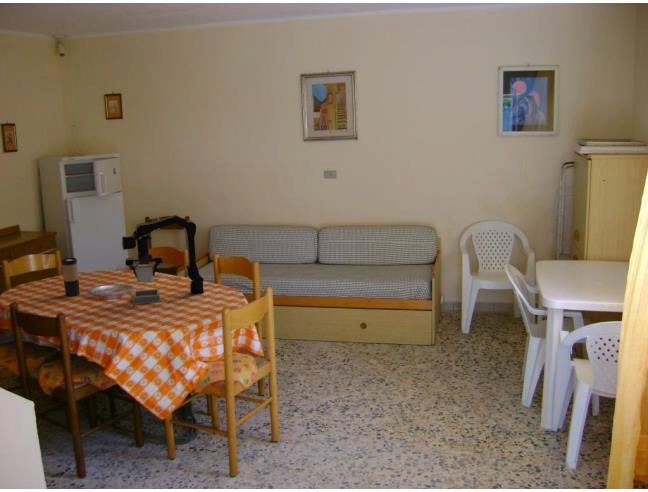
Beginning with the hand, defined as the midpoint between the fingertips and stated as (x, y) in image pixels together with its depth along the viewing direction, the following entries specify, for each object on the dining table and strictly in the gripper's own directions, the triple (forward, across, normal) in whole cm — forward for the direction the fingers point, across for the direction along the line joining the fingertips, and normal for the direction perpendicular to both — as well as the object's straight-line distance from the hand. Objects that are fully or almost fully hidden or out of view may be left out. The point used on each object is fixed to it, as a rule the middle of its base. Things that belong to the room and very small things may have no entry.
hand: (145, 276), depth 351 cm
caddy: (+12, 0, 0) cm, 12 cm away
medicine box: (+3, 0, 0) cm, 3 cm away
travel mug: (+12, -39, +21) cm, 46 cm away
